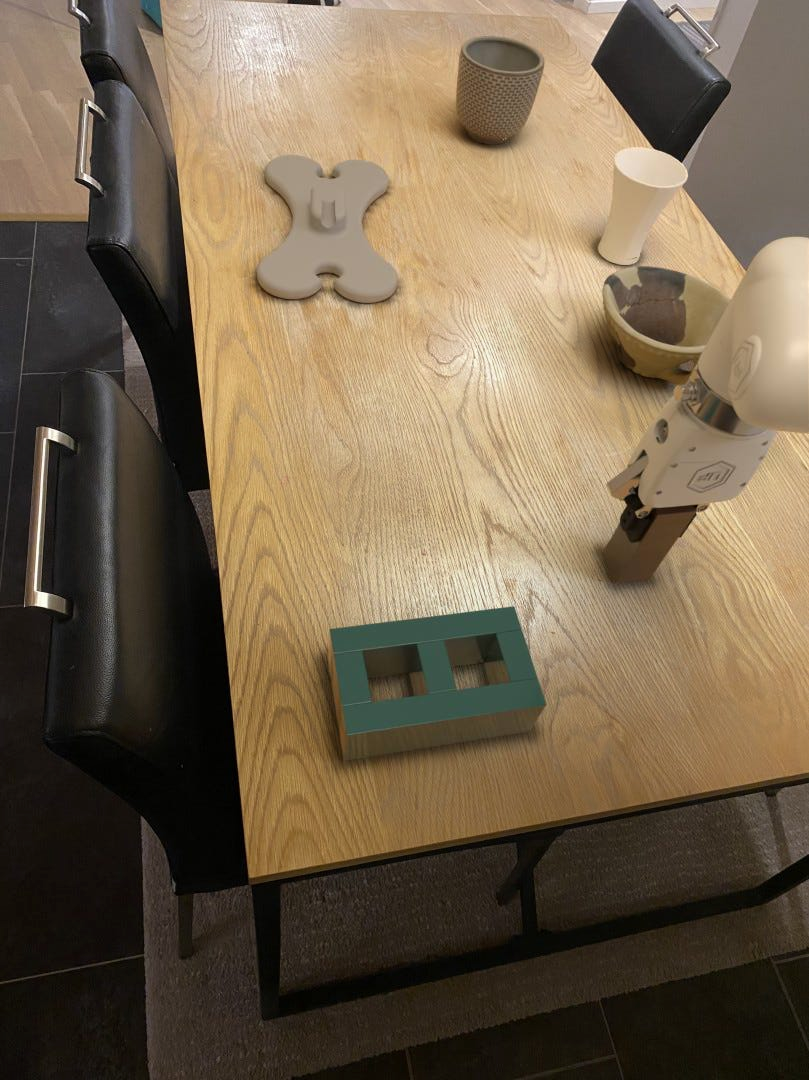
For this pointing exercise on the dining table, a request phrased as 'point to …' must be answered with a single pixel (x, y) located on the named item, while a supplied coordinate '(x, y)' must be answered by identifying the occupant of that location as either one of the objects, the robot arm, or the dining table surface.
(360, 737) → the stand
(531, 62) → the planter
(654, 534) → the peg
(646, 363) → the bowl
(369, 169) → the holder
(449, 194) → the dining table surface
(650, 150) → the cup
